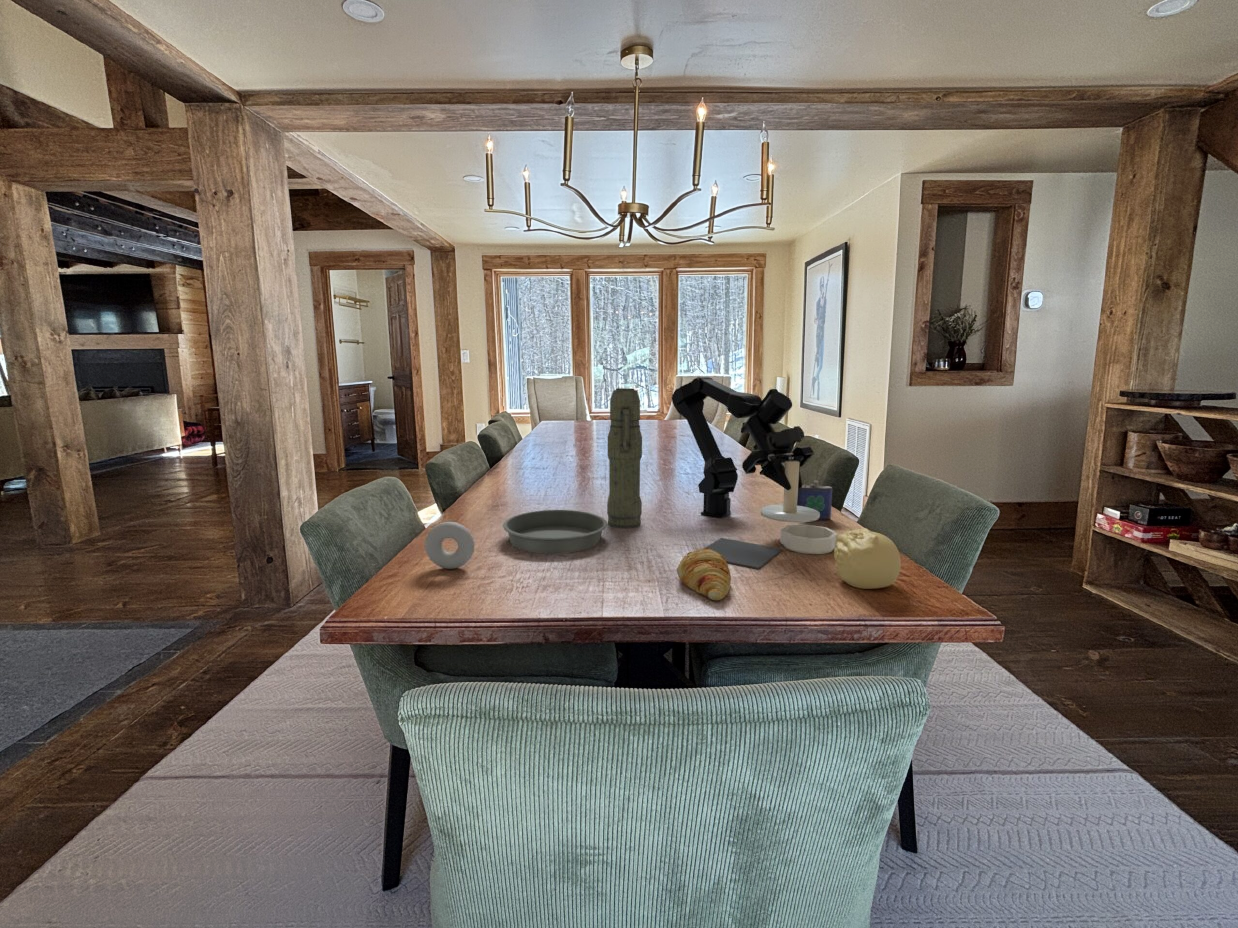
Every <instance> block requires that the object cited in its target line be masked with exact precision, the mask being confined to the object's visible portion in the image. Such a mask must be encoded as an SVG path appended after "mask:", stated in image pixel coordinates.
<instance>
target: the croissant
mask: <svg viewBox="0 0 1238 928" xmlns="http://www.w3.org/2000/svg"><path fill="white" fill-rule="evenodd" d="M704 548H705V547H704ZM726 562H727V561H726V560H725V558H724V557H722V556H721V555H720V554H719V553H717V552H715V551H713V550H710V549H709V548H705V549H703V548H699V549H697V550H693V551H689V552H688V553H687V554H686V555H684V556H683V557H682V558H681V560H680V561H679V565H678V566H677V568H676V574H677V576H678V578H679V580H680V581H681V582H682V583H683V584H684V585H685V586H686V587H688V588H689V589H691V590H692V591H695V592H697V593H698V594H700V595H703V596H705V597H707V598H708V599H709V600H712V601H720V600H723V599H724V598H725V597H726V596H727V595H728V593H729V591H730V589H731V587H732V586H731V584H732V583H731V581H732V577H731V576H732V575H731V570H730V568H729V565H728V564H729V563H726Z"/></svg>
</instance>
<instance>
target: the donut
mask: <svg viewBox="0 0 1238 928" xmlns="http://www.w3.org/2000/svg"><path fill="white" fill-rule="evenodd" d="M446 539H451V540H454V541H455V542H456V543H457V544H456V545H457V548H456V550H455V551H453V552H448V551H446V550H445V549H444V547H443V542H444V541H445V540H446ZM474 540H475V539H474V536H473V535H472V532H471V531H470V530H469V529H468V528H467V527H466V526H465V525H462V524H460V523H458V522H454V521H445V522H441V523H438V524H437V525H435V526H433V527H432V528H431V529H430V530H429V531H428V533H427V536H426V538H425V541H424V542H425V543H424V549H425V552H426V555H427V557H428V559H429V560H430V562H432V563H433V564H435V565H436V566H438V567H439V568H442V569H447V570H455V569H458V568H461V567H462V566H465V565H466V564H467V563H468V562H469V561H470V560H471V559H472V557H473V554H474V552H475V541H474Z"/></svg>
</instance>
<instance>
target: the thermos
mask: <svg viewBox="0 0 1238 928" xmlns="http://www.w3.org/2000/svg"><path fill="white" fill-rule="evenodd" d="M609 420H610V425H609V432H608V434H607V458H608V461H609V462H608V463H609V468H608V469H609V471H608V472H609V478H608V479H609V482H608V483H609V494H608V498H607V502H606V504H607V507H606V509H607V511H606V512H607V517H608V519H607V525H608V526H611V527H613V528H619V529H631V528H636V527H639V526H641V524H642V521H641V520H642V517H641V516H642V514H643V513H642V511H643V510H642V508H643V505H642V504H643V503H642V499H641V493H640V491H641V488H640V487H641V486H640V485H641V459H642V456H643V436H642V431H641V425H640V420H641V399H640V396H639V392H638V390H636V389H635V388H630V387H629V388H628V387H627V388H626V387H625V388H622V387H621V388H616V389H615V390H614V389H613V390H612V393H611V397H610V400H609Z"/></svg>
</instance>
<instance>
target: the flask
mask: <svg viewBox="0 0 1238 928" xmlns="http://www.w3.org/2000/svg"><path fill="white" fill-rule="evenodd" d="M832 500H833V487H832V486H828V485H826V486H820V481H818V480H816V479H815V480H813V483H811V484H803V485H802V487H801V488H800V489H799V488H798V499H797V506H803V507H808V508H812V509H815V510H817V511H818V512H819V513H820V518H819V519H818V520H817V521H830V520H831V517H832V502H833V501H832Z"/></svg>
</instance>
